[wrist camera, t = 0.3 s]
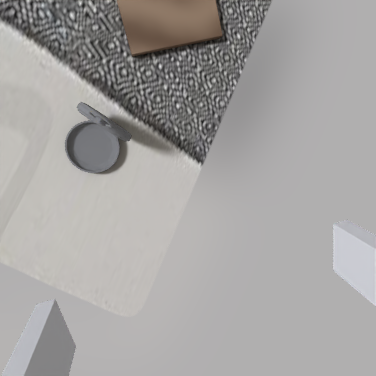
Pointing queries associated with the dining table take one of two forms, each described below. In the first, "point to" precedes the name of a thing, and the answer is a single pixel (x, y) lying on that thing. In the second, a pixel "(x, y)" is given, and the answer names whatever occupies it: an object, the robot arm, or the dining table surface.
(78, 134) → the pocket watch
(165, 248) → the dining table surface
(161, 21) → the walnut board
